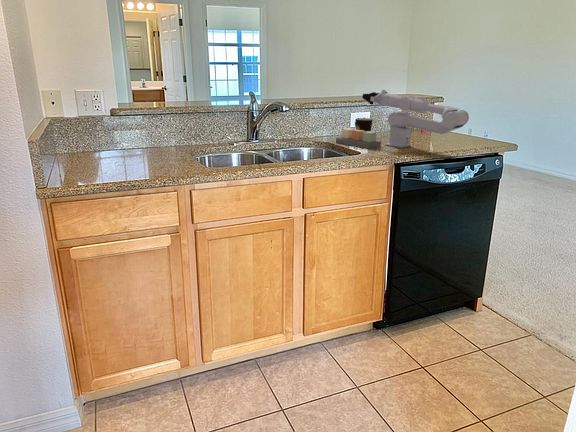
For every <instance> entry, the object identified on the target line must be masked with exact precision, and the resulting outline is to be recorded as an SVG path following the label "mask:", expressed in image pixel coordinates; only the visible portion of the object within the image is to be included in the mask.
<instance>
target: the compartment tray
mask: <svg viewBox="0 0 576 432" xmlns="http://www.w3.org/2000/svg"><path fill="white" fill-rule="evenodd" d="M335 143H336V144H339V145H347V146H352V147H357V148H362V149H368V150H370V149H373V148H374V149H375V148H380V147H381V143H382V141H379V140H376V141H375V142H364V141H362V140H353V139H352V138H350V139H347V138H341V137H339V136H338V137H335Z"/></svg>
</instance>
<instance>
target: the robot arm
mask: <svg viewBox="0 0 576 432" xmlns="http://www.w3.org/2000/svg"><path fill="white" fill-rule="evenodd" d="M361 99H363V100H365V101H367V102H368V103H369V105H374V103H376V104H378V105H379V106H386V107H391V108H396V109H400V110H401V111H398V112H397V111H396V112H390V114H389V115H388V116H387V122H388V124H389V137H388V138H389V139H388V142H387V143H385V144H384V145H385V146H391V147H396V148H406V147H411V146H412V144H411V139H412V130H411V128H413V129H418V130H422V131H427V132H431V133H436V134H440V135H446V134H449V133H450V132H452V131H455V130H457V129H460V128H463V127H464V126H465V125H466V124H467V123H468V122H469V118H470V115H469V113H468V112H467V111H466V110H463V109H459V108H457V107H453V106H452V107H451V106H446V105H440V104H434V103H433V104H432V103H430V102H429V101H428V100H427V99H425V98H424V97H421V98H418V97H415V96H411V95H410V96H404V95H399V94H394V93H389V92H388V91H386V90H385V89H381V92H375V91H373V92H370V93H363V94H362V98H361ZM408 111H411V112H415V113H421V114H425V113H433V114H438V115H441V121H437V120H434V119H428V118H423V117H418V116H415V115H414V114H410V113H409V112H408Z"/></svg>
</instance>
